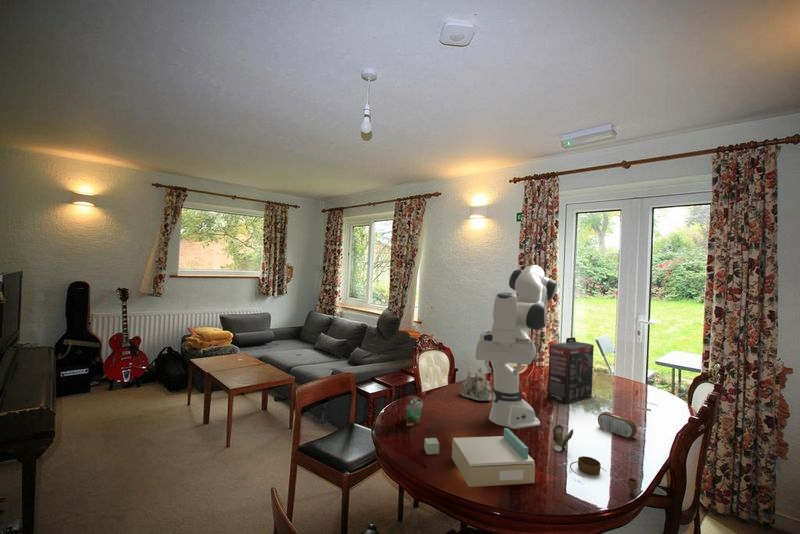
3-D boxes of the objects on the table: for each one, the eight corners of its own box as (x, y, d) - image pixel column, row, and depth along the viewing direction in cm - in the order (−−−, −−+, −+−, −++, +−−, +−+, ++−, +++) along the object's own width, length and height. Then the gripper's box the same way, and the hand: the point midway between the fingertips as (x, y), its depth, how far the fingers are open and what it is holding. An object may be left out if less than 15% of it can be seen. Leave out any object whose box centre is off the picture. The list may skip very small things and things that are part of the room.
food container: (419, 430, 158) (420, 406, 158) (405, 428, 159) (406, 404, 159) (423, 418, 170) (424, 396, 170) (410, 417, 171) (411, 395, 171)
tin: (636, 440, 156) (637, 420, 156) (633, 442, 154) (634, 422, 154) (599, 427, 168) (600, 408, 168) (596, 429, 166) (597, 410, 166)
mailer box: (509, 457, 137) (510, 438, 137) (534, 486, 119) (535, 464, 119) (451, 460, 134) (452, 440, 134) (468, 490, 116) (469, 467, 116)
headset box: (572, 390, 219) (574, 334, 219) (593, 397, 208) (595, 338, 208) (546, 397, 205) (548, 337, 205) (567, 405, 195) (569, 341, 195)
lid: (509, 438, 137) (510, 426, 137) (534, 463, 120) (534, 449, 120) (453, 440, 134) (453, 428, 134) (469, 466, 116) (470, 452, 116)
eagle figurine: (574, 450, 145) (575, 427, 145) (571, 458, 139) (572, 434, 139) (553, 444, 149) (554, 422, 149) (550, 452, 143) (551, 428, 143)
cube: (435, 449, 141) (436, 437, 141) (438, 455, 137) (439, 443, 137) (424, 450, 141) (424, 438, 141) (426, 456, 136) (427, 443, 136)
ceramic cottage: (460, 391, 210) (461, 364, 210) (490, 393, 208) (491, 367, 208) (461, 401, 195) (462, 372, 195) (493, 403, 192) (494, 374, 192)
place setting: (605, 467, 134) (606, 450, 134) (640, 502, 114) (641, 482, 114) (556, 465, 134) (557, 448, 134) (583, 499, 114) (584, 480, 114)
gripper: (531, 337, 140) (530, 374, 140) (476, 333, 144) (474, 369, 143) (534, 340, 134) (532, 379, 133) (476, 335, 137) (474, 373, 137)
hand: (502, 374), depth 138 cm, fingers open, 8 cm apart
